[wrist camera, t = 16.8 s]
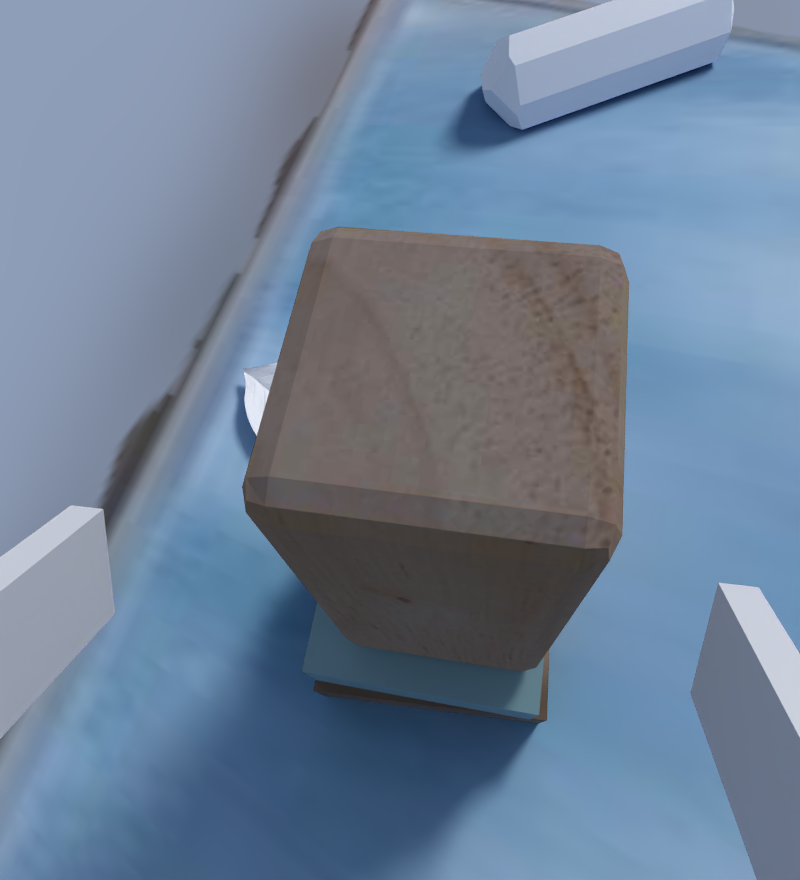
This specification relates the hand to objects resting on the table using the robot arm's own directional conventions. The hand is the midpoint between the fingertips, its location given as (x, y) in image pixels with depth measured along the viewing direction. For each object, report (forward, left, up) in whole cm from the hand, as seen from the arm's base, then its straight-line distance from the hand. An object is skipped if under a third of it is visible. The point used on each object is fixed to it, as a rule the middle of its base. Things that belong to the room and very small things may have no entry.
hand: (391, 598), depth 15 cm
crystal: (+56, -9, -30) cm, 64 cm away
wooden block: (+6, -1, -22) cm, 22 cm away
